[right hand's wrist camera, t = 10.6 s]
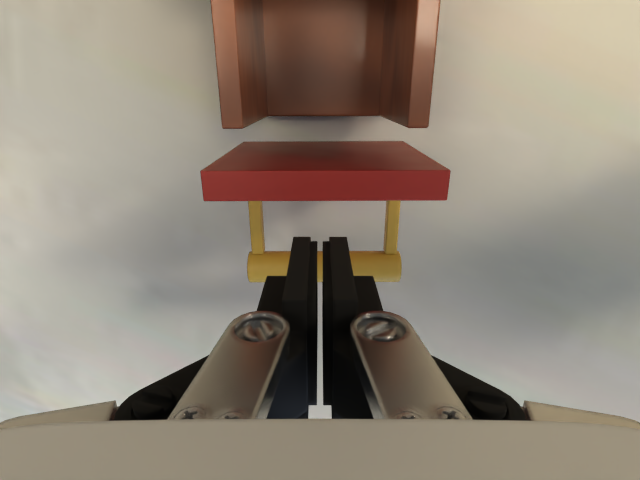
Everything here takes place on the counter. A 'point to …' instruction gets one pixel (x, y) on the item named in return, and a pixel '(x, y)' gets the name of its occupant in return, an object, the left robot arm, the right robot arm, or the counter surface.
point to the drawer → (325, 111)
